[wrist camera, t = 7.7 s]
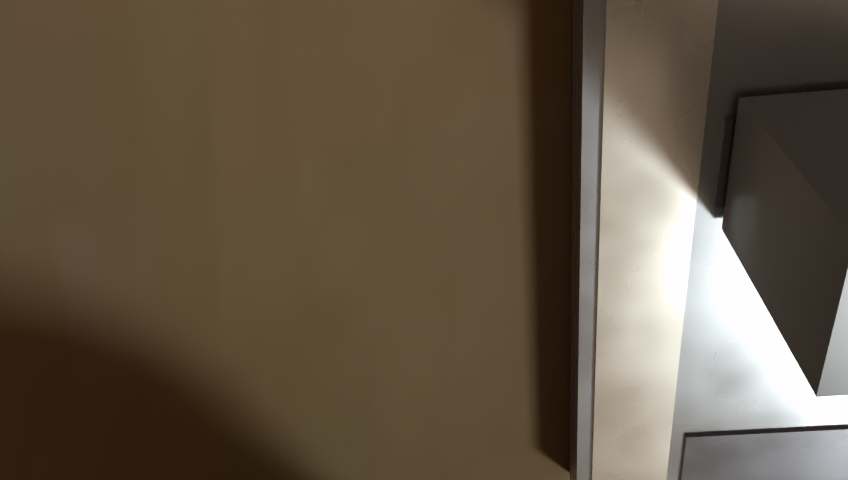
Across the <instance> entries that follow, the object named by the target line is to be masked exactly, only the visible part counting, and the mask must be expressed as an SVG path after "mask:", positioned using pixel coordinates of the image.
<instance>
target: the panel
mask: <svg viewBox="0 0 848 480" xmlns="http://www.w3.org/2000/svg"><path fill="white" fill-rule="evenodd" d="M838 89H848V0H573V38H572V188H571V338H570V479H571V480H848V395H841V396H822V397H816V395H815V394H814V392H813V390H812V388H811V387H810V385H809V383H808V381H807V379H806V378H805V376H804V374H803V372H802V371H801V369H800V367H799V365H798V363H797V362H796V360H795V358H794V356H793V355H792V353H791V351H790V349H789V347H788V346H787V344H786V342H785V340H784V339H783V337H782V335H781V333H780V331H779V330H778V328H777V326H776V324H775V323H774V321H773V319H772V317H771V315H770V314H769V312H768V310H767V308H766V307H765V305H764V303H763V301H762V300H761V298H760V296H759V294H758V292H757V291H756V289H755V287H754V285H753V284H752V282H751V280H750V278H749V276H748V275H747V273H746V271H745V269H744V268H743V266H742V264H741V262H740V260H739V259H738V257H737V255H736V253H735V252H734V250H733V248H732V246H731V244H730V243H729V241H728V239H727V237H726V236H725V234H724V232H723V230H722V223H723V216H724V208H725V200H726V193H727V185H728V178H729V170H730V163H731V155H732V148H733V140H734V132H735V125H736V117H737V110H738V102H739V98H740V97H752V96H765V95H777V94H789V93H801V92H814V91H826V90H838Z"/></svg>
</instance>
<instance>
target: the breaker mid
mask: <svg viewBox="0 0 848 480" xmlns="http://www.w3.org/2000/svg"><path fill="white" fill-rule="evenodd" d="M722 230H723V232H724V234H725V236H726V237H727V239H728V241H729V243H730V244H731V246H732V248H733V250H734V252H735V253H736V255H737V257H738V259H739V260H740V262H741V264H742V266H743V268H744V269H745V271H746V273H747V275H748V276H749V278H750V280H751V282H752V284H753V285H754V287H755V289H756V291H757V292H758V294H759V296H760V298H761V300H762V301H763V303H764V305H765V307H766V308H767V310H768V312H769V314H770V315H771V317H772V319H773V321H774V323H775V324H776V326H777V328H778V330H779V331H780V333H781V335H782V337H783V339H784V340H785V342H786V344H787V346H788V347H789V349H790V351H791V353H792V355H793V356H794V358H795V360H796V362H797V363H798V365H799V367H800V369H801V371H802V372H803V374H804V376H805V378H806V379H807V381H808V383H809V385H810V387H811V388H812V390H813V392H814V394H815V395H816V397H822V396H841V395H848V89H838V90H826V91H814V92H801V93H789V94H777V95H765V96H752V97H740V98H739V102H738V110H737V117H736V125H735V132H734V140H733V148H732V155H731V163H730V170H729V178H728V185H727V193H726V200H725V208H724V216H723V223H722Z"/></svg>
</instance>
